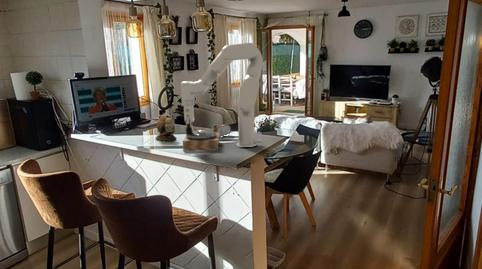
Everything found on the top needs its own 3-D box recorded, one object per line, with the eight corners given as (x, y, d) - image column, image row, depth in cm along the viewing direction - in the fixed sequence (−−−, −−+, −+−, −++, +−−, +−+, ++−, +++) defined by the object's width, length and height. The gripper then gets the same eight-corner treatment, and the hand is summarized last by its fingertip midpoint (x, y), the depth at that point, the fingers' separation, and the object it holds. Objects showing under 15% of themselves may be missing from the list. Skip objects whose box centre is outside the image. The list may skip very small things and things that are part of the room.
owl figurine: (182, 139, 228) (180, 114, 225) (167, 143, 220) (165, 116, 216) (166, 135, 240) (164, 111, 237) (151, 139, 232) (149, 113, 228)
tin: (228, 134, 241) (227, 122, 239) (231, 135, 239) (231, 123, 237) (213, 139, 229) (212, 126, 228) (216, 139, 227) (216, 127, 226)
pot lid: (217, 132, 218) (216, 122, 217) (215, 139, 200) (215, 128, 199) (188, 133, 218) (187, 122, 216) (184, 139, 200) (184, 128, 199)
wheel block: (218, 142, 220) (218, 132, 219) (217, 150, 201) (217, 140, 200) (187, 142, 220) (186, 133, 219) (183, 151, 200) (182, 140, 199)
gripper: (193, 104, 196) (194, 136, 200) (196, 100, 213) (197, 130, 217) (179, 104, 196) (181, 136, 200) (183, 101, 212) (185, 130, 216)
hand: (189, 132), depth 208 cm, fingers closed on pot lid, 4 cm apart
